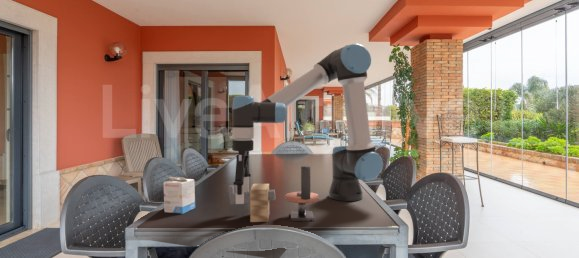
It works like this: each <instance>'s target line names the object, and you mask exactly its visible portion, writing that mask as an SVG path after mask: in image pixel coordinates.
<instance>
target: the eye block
mask: <svg viewBox="0 0 579 258" xmlns="http://www.w3.org/2000/svg"><path fill="white" fill-rule="evenodd" d="M269 190H270V183H253V184H252V185H251V186H250V189H249V192H250V203H249V204H250V205H249V209H250V213H249V216H250V218H249V219H250V223H268V222H269V218H270V217H269V216H270V201H268V191H269Z"/></svg>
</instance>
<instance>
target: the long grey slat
mask: <svg viewBox="0 0 579 258" xmlns="http://www.w3.org/2000/svg"><path fill="white" fill-rule="evenodd" d="M227 187H228V188H227V189H228V198H229V205H230V206H232V205H237V204H236V191H235V185H234V184H229V186H227ZM268 201H269V202H271V201H272V202H273V201H276V190H275V188H274V189H269V191H268ZM244 204H250V191H249V192H244Z"/></svg>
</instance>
